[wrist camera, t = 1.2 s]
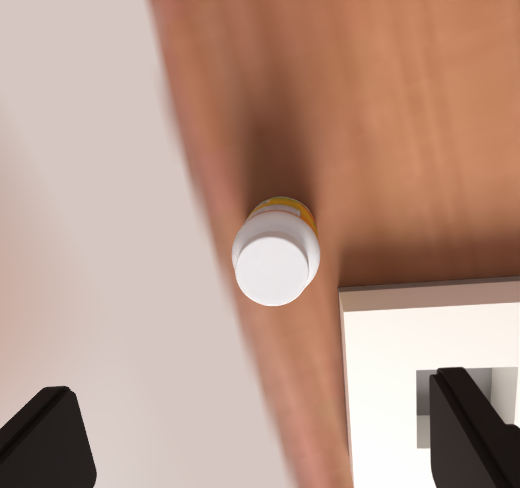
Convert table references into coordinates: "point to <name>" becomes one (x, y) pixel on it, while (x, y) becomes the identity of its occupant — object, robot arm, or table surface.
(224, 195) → the table surface
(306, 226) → the supplement bottle
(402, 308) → the socket block
